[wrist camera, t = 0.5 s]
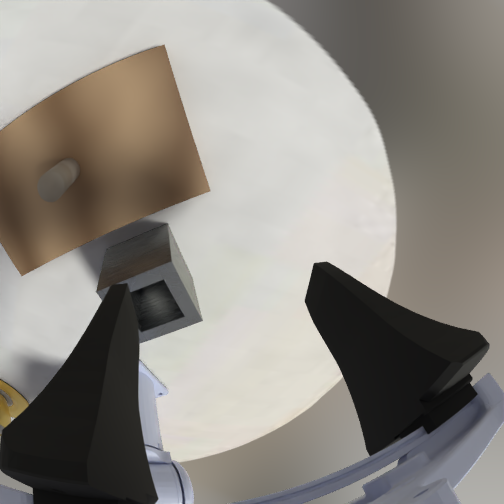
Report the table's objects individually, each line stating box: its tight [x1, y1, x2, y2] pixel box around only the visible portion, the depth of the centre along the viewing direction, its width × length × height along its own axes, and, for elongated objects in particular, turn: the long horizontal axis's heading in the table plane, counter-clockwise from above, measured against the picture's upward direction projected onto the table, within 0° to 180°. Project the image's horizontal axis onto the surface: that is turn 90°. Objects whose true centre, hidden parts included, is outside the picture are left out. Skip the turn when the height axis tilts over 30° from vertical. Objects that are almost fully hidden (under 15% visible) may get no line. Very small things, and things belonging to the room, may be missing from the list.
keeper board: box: [0, 45, 210, 276], centre depth 13 cm, size 16×10×4 cm, turn 104°
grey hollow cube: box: [96, 224, 203, 343], centre depth 18 cm, size 5×5×5 cm
